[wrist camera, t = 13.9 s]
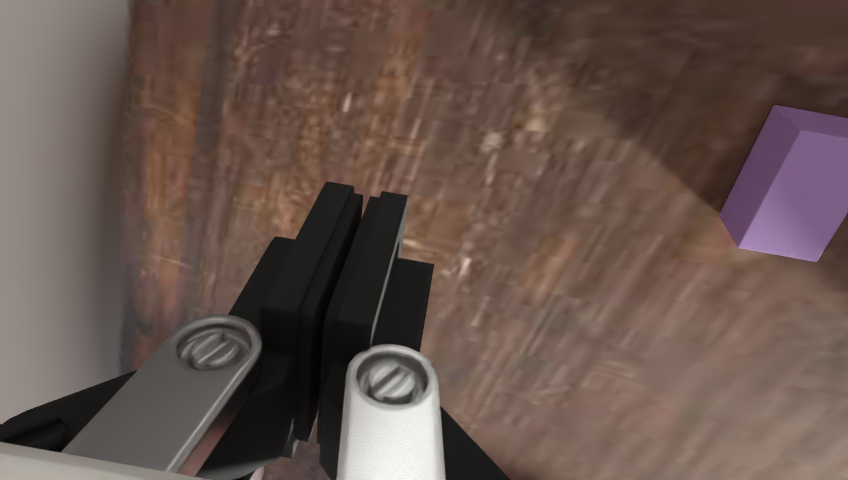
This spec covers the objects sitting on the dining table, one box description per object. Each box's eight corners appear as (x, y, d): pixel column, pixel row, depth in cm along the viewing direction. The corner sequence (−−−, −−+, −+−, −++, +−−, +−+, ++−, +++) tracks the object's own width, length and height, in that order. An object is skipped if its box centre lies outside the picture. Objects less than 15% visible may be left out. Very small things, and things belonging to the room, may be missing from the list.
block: (773, 104, 36) (800, 129, 33) (855, 119, 36) (890, 146, 33) (718, 215, 41) (737, 248, 38) (791, 228, 41) (816, 262, 38)
